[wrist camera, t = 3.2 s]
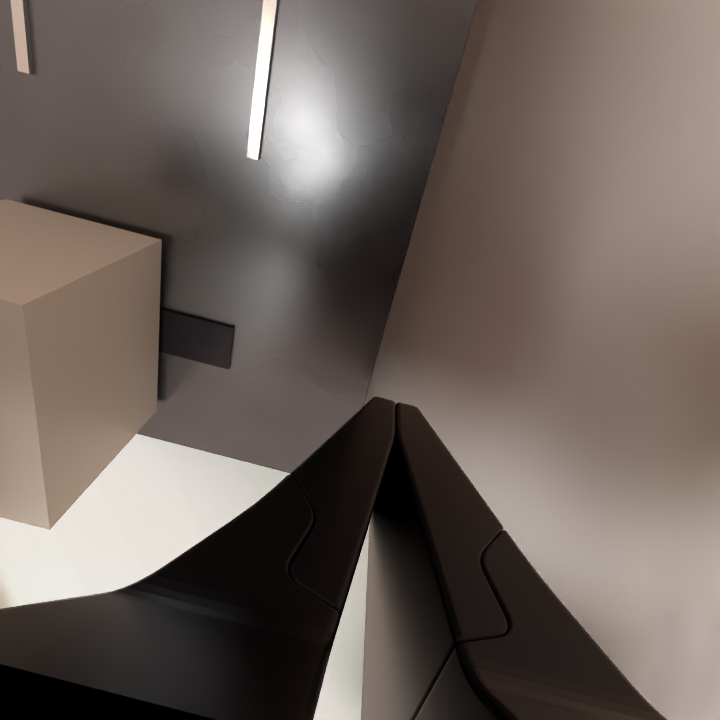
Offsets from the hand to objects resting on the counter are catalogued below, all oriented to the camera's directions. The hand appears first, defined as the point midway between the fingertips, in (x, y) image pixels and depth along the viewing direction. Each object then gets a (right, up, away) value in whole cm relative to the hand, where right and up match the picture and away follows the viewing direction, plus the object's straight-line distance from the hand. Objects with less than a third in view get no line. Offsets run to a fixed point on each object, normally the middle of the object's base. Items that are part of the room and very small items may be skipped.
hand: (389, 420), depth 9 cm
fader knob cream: (-6, +2, +1) cm, 7 cm away
